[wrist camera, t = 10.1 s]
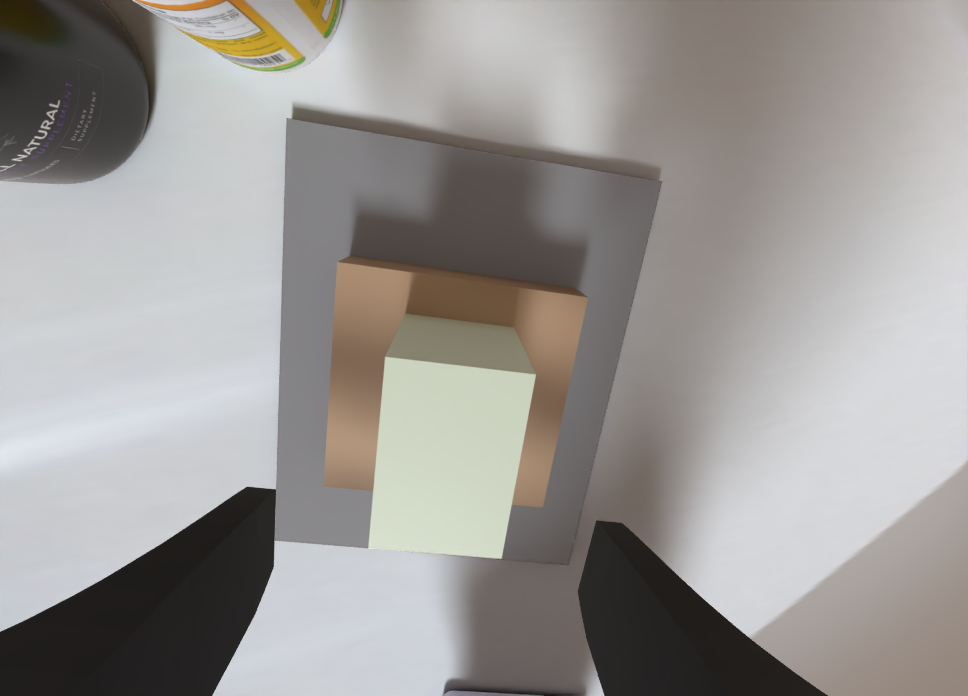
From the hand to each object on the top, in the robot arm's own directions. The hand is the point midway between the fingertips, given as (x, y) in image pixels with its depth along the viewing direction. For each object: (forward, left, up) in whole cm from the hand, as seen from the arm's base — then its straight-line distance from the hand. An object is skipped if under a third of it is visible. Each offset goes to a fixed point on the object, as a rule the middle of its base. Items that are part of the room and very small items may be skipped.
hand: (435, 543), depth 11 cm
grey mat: (0, 0, -10) cm, 10 cm away
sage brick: (0, 0, -8) cm, 8 cm away
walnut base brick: (0, 0, -10) cm, 10 cm away
